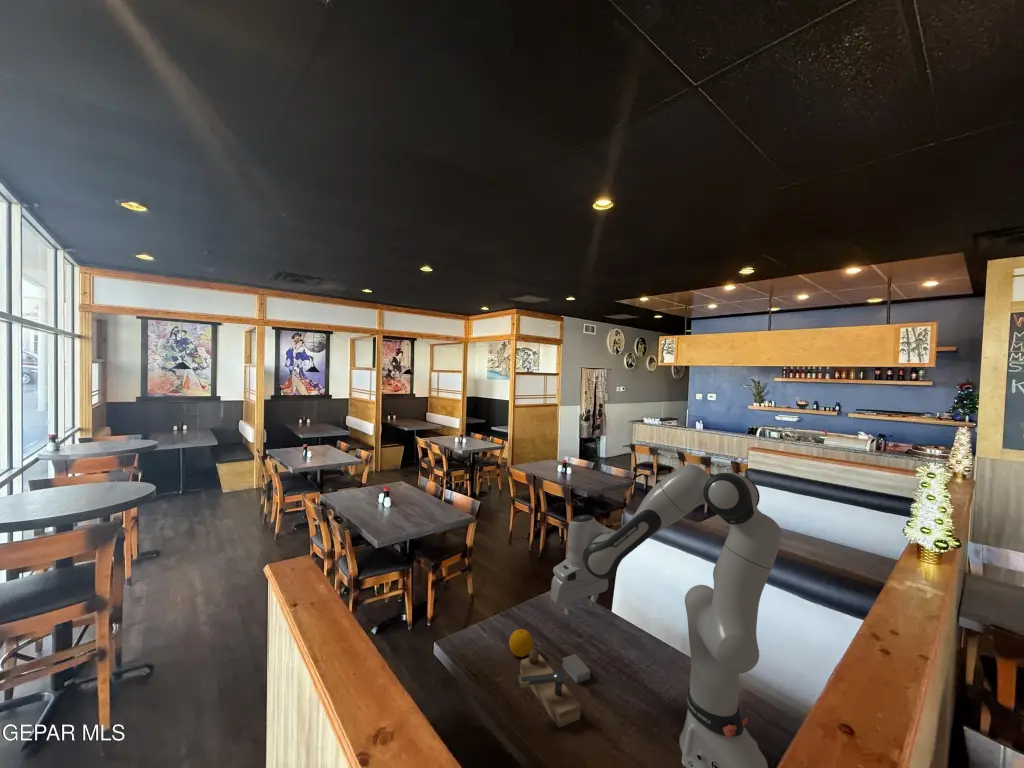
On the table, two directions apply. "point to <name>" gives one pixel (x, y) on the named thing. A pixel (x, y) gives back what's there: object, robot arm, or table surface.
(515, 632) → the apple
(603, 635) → the table surface
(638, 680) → the table surface
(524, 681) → the lever
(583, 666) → the lever cap
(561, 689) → the plane body
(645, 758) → the table surface
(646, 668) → the table surface
